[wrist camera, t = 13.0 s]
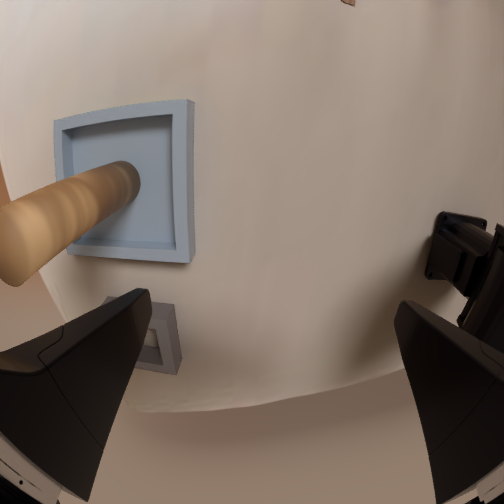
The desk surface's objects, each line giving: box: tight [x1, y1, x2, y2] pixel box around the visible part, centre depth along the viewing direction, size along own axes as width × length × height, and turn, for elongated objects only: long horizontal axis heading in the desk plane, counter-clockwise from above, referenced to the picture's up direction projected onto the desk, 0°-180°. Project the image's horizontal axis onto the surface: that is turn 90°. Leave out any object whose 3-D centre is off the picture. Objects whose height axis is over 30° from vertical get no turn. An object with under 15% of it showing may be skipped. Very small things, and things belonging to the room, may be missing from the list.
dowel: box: [0, 161, 141, 287], centre depth 14 cm, size 4×4×13 cm
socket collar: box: [101, 297, 182, 375], centre depth 26 cm, size 7×7×2 cm
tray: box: [54, 99, 196, 263], centre depth 20 cm, size 12×12×2 cm
